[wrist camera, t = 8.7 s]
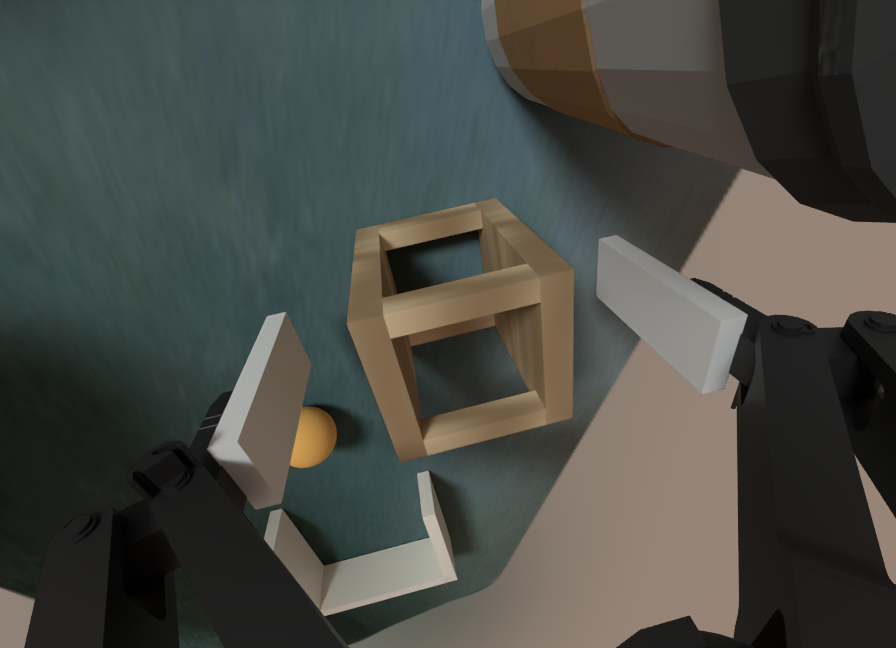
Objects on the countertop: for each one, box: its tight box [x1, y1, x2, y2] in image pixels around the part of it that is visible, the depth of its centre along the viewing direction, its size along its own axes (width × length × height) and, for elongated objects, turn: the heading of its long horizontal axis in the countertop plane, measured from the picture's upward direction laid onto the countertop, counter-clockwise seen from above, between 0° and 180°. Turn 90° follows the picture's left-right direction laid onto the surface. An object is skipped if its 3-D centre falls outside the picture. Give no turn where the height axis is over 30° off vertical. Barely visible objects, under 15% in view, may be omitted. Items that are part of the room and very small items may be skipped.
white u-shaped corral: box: [264, 471, 457, 616], centre depth 27 cm, size 11×9×3 cm
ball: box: [290, 406, 337, 468], centre depth 21 cm, size 3×3×3 cm
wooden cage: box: [347, 198, 574, 463], centre depth 15 cm, size 6×6×8 cm
